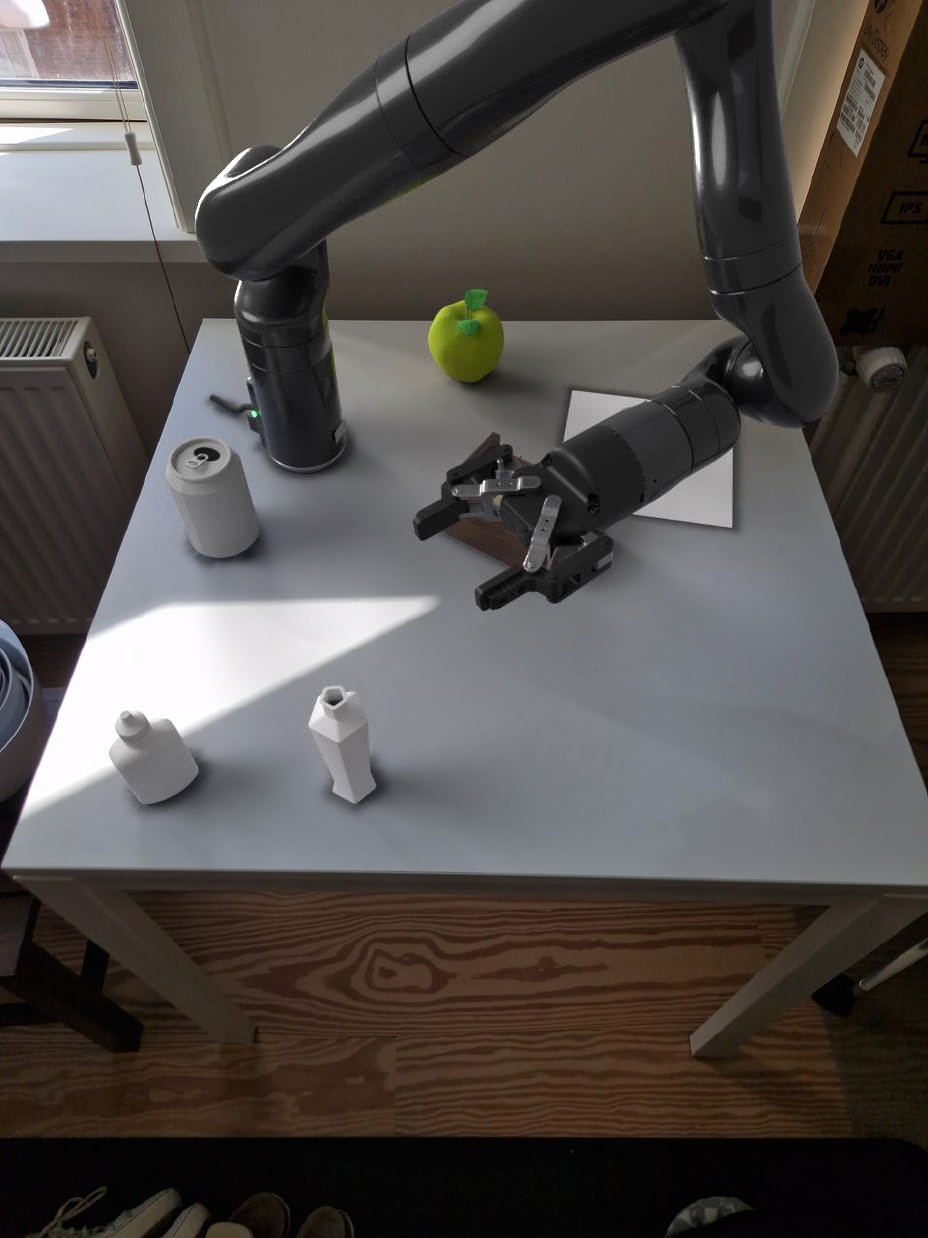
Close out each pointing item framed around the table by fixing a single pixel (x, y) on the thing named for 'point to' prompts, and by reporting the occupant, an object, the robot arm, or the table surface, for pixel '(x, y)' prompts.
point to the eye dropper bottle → (151, 757)
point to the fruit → (467, 338)
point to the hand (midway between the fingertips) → (446, 565)
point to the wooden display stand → (493, 523)
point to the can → (212, 496)
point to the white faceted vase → (343, 741)
